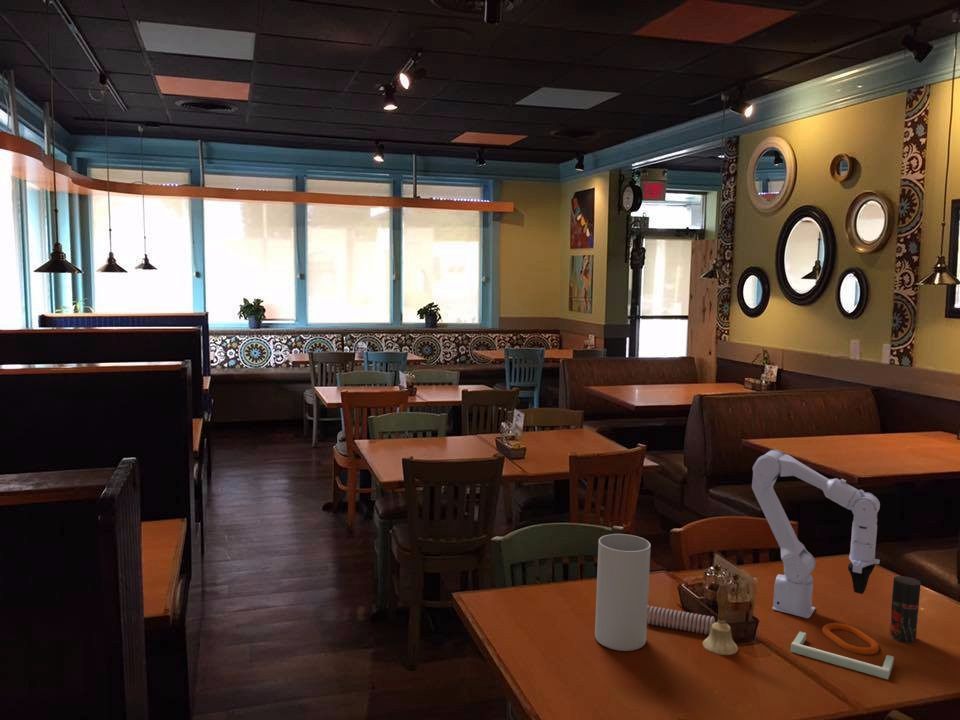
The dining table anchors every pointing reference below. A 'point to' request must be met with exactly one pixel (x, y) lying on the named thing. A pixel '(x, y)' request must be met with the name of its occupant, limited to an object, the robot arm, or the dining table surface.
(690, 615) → the coil
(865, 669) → the bar pull handle
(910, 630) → the deodorant
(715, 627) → the hand bell
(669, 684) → the dining table surface
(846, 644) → the orange oval ring
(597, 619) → the cylinder vase
